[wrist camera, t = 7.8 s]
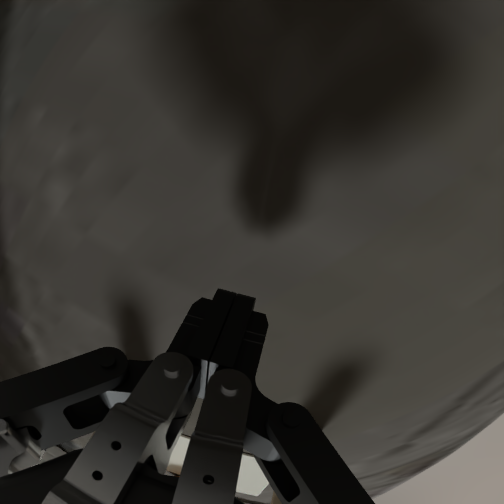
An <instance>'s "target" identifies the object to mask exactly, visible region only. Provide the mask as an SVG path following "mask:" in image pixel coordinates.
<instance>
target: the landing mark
mask: <svg viewBox="0 0 504 504" xmlns="http://www.w3.org/2000/svg"><path fill="white" fill-rule="evenodd" d="M189 441H190V437H187V436H184V435H180V437H179V439H178V441H177V443H176V445H175V447H174V449H173V451H172V453H171V456H170V460H169V464H168V467H167V469H166V470H167V471H170V472H173V473H176V474H179V475H180V473H181V469H182V466H183V462H184V459H185V455H186V452H187V448H188V445H189ZM268 484H269V482H268V480H267V479H266V477H265V475H264V473H263V472H262V470H261V468H260V467H259V465H258V463H257V461H256V460H255V458H254V455H250V454H245V453H242V459H241V465H240V470H239V476H238V481H237V487H236V491H237V492H241V493H245V494H250V495H254V496H258V495H259V494H260V493H261V492H262V491H263V490H264V489H265V487H266V486H267V485H268Z"/></svg>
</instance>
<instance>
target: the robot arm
mask: <svg viewBox="0 0 504 504" xmlns="http://www.w3.org/2000/svg"><path fill="white" fill-rule="evenodd" d="M236 295H237V296H236ZM255 300H256V298H254V297H250V296H246V295H242V294H237V293H234V292H230V291H227V290H223V289H218V290H217V291H216V293H215V295H214V298H213V300H210V299H206V298H201V299H199V300H198V301H196V302H195V303H194V304H192V306H191V308H190V310H189V312H188V313H187V315H186V317H185V319H184V321H183V323H182V324H181V326H180V328H179V330H178V332H177V333H176V335H175V337H174V339H173V341H172V343H171V344H170V346H169V348H168V350H167V351H166V353H162V354H160V355H158V356H157V357H156V358H155V359H154V360H151V361H137V360H127V357H126V355H125V354H124V353H123V352H122V351H121V350H119V349H117V348H114V347H103V348H99V349H97V350H94V351H91V352H88V353H85V354H83V355H80V356H77V357H74V358H71V359H68V360H65V361H63V362H60V363H57V364H54V365H51V366H48V367H45V368H42V369H39V370H36V371H33V372H30V373H27V374H24V375H21V376H18V377H15V378H12V379H9V380H5V381H2V382H0V504H244V503H243V502H242V501H241V500H239V499H238V498H236V497H235V492H236V487H237V481H238V476H239V470H240V465H241V459H242V453H243V449H245V450H247V451H249V452H250V453H252V454H254V458H255V460H256V461H257V463H258V465H259V467H260V468H261V470H262V472H263V473H264V475H265V477H266V479H267V480H268V482H269V484H270V485H271V487H272V489H273V490H274V492H275V494H276V495H277V497H278V498H279V500H280V502H281V503H282V504H375V503H374V502H373V500H372V499H371V498H370V496H369V495H368V494H367V492H366V491H365V490H364V488H363V487H362V486H361V484H360V483H359V481H358V480H357V479H356V477H355V476H354V475H353V473H352V472H351V471H350V469H349V468H348V466H347V465H346V464H345V462H344V461H343V460H342V458H341V457H340V455H339V454H338V453H337V451H336V450H335V448H334V447H333V446H332V444H331V443H330V441H329V440H328V439H327V437H326V436H325V434H324V433H323V431H322V430H321V429H320V427H319V426H318V424H317V423H316V421H315V420H314V419H313V417H312V416H311V414H310V413H309V412H308V410H307V409H306V408H304V407H303V406H301V405H299V404H296V403H292V402H285V403H280V404H277V403H275V402H273V401H272V400H270V399H268V398H267V397H265V396H264V395H263V394H262V393H261V392H260V391H259V390H258V388H257V386H256V382H255V376H256V372H257V368H258V364H259V360H260V356H261V352H262V348H263V344H264V341H265V337H266V333H267V329H268V321H267V318H266V314H263V313H259V312H255V311H253V309H254V305H255ZM197 397H200V398H203V403H202V406H201V410H200V413H199V417H198V420H197V424H196V427H195V431H194V433H192V435H191V438H190V441H189V445H188V448H187V452H186V455H185V459H184V462H183V466H182V469H181V473H180V477H176V476H167V475H164V473H165V471H166V469H167V467H168V464H169V460H170V456H171V453H172V451H173V449H174V447H175V445H176V443H177V441H178V439H179V437H180V435H181V434H182V432H183V430H184V428H185V426H186V424H187V422H188V420H189V418H190V416H191V413H192V409H193V407H194V404H195V402H196V399H197ZM94 431H95V433H94V434H93V436H92V437H91V439H90V440H89V442H88V443H87V445H86V446H85V448H84V449H78V450H74V451H71V452H69V453H66V454H64V455H61V456H59V457H56V458H54V459H51V460H48V461H46V462H43V463H40V464H38V463H39V461H40V456H41V450H44V449H47V448H50V447H53V446H56V445H59V444H62V443H65V442H67V441H70V440H73V439H76V438H78V437H81V436H84V435H86V434H89V433H92V432H94ZM36 464H38V465H36ZM33 465H35V466H33ZM31 466H32V467H31Z"/></svg>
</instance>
